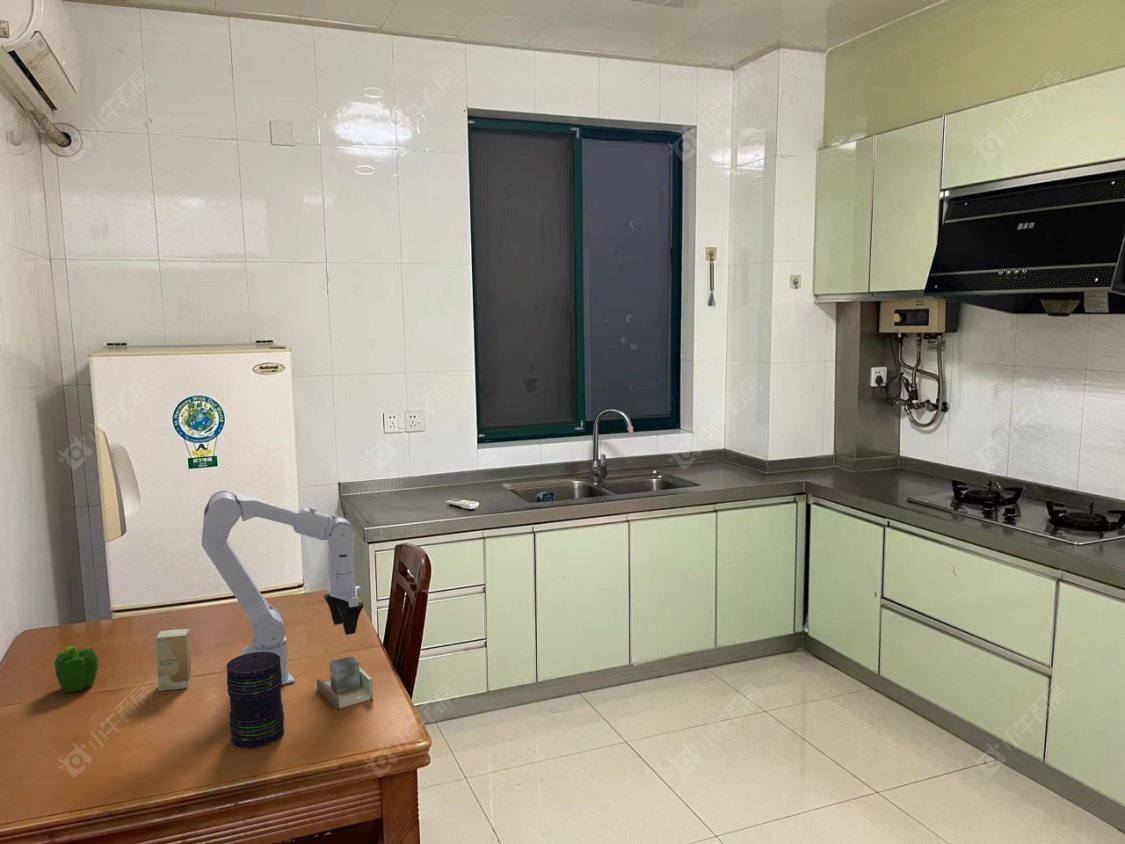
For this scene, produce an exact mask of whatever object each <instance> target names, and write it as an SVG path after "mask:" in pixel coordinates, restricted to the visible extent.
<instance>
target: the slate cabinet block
mask: <svg viewBox="0 0 1125 844" xmlns="http://www.w3.org/2000/svg"><path fill="white" fill-rule="evenodd" d="M359 667H360V662H359V661H358V659H356V658H355V657H354V656H352V655H350V656H347V657H343V658H337V659H336V660H331V661H329V672H330V673H329V675H330V681H331V689H332V690H333V691H334V692H335V693H336V694H337V695H340V694H343V693H347V692H351V691H354V690H358V689H360V672H359Z"/></svg>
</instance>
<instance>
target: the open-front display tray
mask: <svg viewBox="0 0 1125 844" xmlns="http://www.w3.org/2000/svg"><path fill="white" fill-rule="evenodd" d="M359 672H360V689H358V690H354V691H351V692H347V693H343V694H340V695H337V694H336V693H335V692H334V691H333V690H332V689H331V680H329V681H324V679H322V678H321V676H318V677H316V687H317V690H318V691H319V692H320V693H321V695H322V696H323V697H324V698H325V699H326V700H327V701H328V703H329V704H330V705H331V707H333V708H334V709H335V710H339V709H342V708H347V707H350V706H353V704H354V705H357V704H361V703H364V701H365V702H367V700H368V701H371V700H370V699H372V700H374V695H373V694H374V691H373V678H372V677H371V676H370V675H369V674H367V672H365V671H364V670H363V669H362V668H361V666H359Z"/></svg>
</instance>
